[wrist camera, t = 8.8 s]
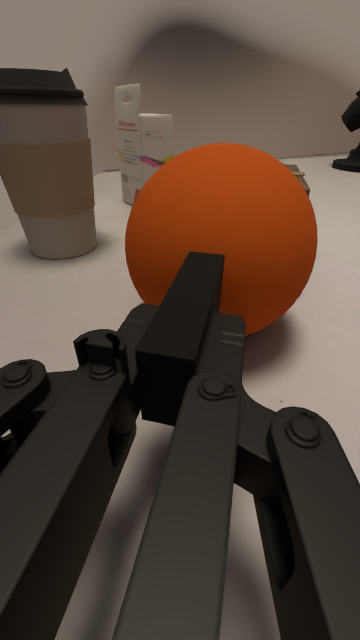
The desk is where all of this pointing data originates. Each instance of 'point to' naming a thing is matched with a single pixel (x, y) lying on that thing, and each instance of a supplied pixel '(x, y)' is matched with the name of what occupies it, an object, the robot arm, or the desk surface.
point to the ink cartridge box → (139, 141)
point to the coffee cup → (47, 160)
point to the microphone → (354, 119)
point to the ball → (225, 229)
